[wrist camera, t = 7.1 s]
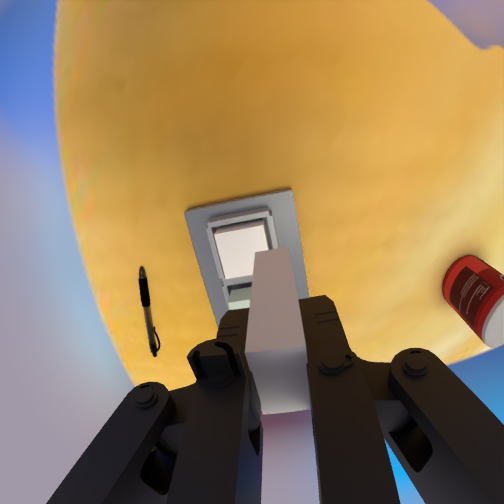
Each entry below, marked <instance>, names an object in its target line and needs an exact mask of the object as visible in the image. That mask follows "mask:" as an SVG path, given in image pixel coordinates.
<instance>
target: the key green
mask: <svg viewBox="0 0 504 504" xmlns="http://www.w3.org/2000/svg"><path fill="white" fill-rule="evenodd" d="M250 297H251V287H248V288H241V289H235V290H231V292H230V296H229V301H228V305H229V308H230V310H234V309H242V308H249V307H250Z"/></svg>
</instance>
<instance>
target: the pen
mask: <svg viewBox="0 0 504 504" xmlns="http://www.w3.org/2000/svg"><path fill="white" fill-rule="evenodd" d="M139 287H140V296H141V302H142V306H143V310H144V316H145V322H146V328H147V333H148V339H149V346H150V350H151V352H152V354H153V357H156V356H157V353H156V352H157V351H158V350H159V349H160V341H159V338H158V335H157V333H156V331H155V326H154V328H153V324H152V318H151V311H150V297H149V291H148V284H147V278H146V275H145V271H144V269H143V267H140V270H139ZM153 330H154V331H153ZM154 333H155V335H156V338H157V340H158V344H159V346H158V348H157V346H156V341H155V337H154Z"/></svg>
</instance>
